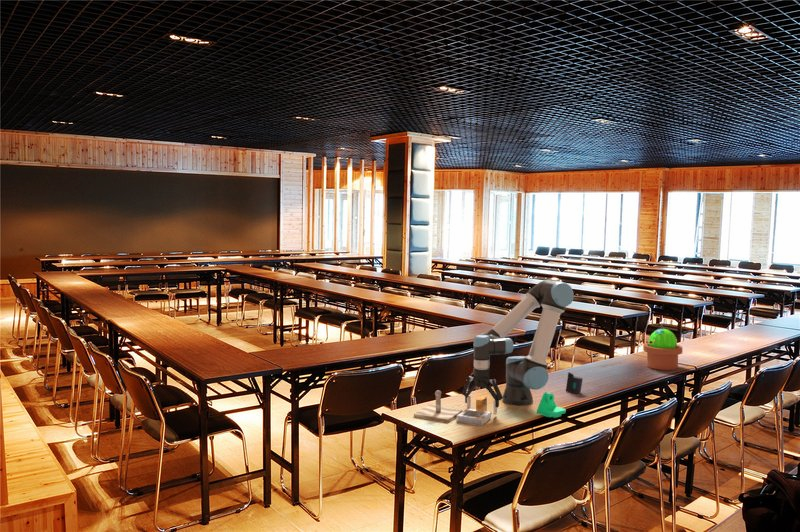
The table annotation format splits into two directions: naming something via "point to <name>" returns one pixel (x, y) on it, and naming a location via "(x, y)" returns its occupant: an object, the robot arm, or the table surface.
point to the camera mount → (549, 406)
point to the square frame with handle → (475, 413)
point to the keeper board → (438, 416)
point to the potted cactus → (662, 350)
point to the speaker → (574, 383)
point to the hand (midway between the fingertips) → (481, 411)
